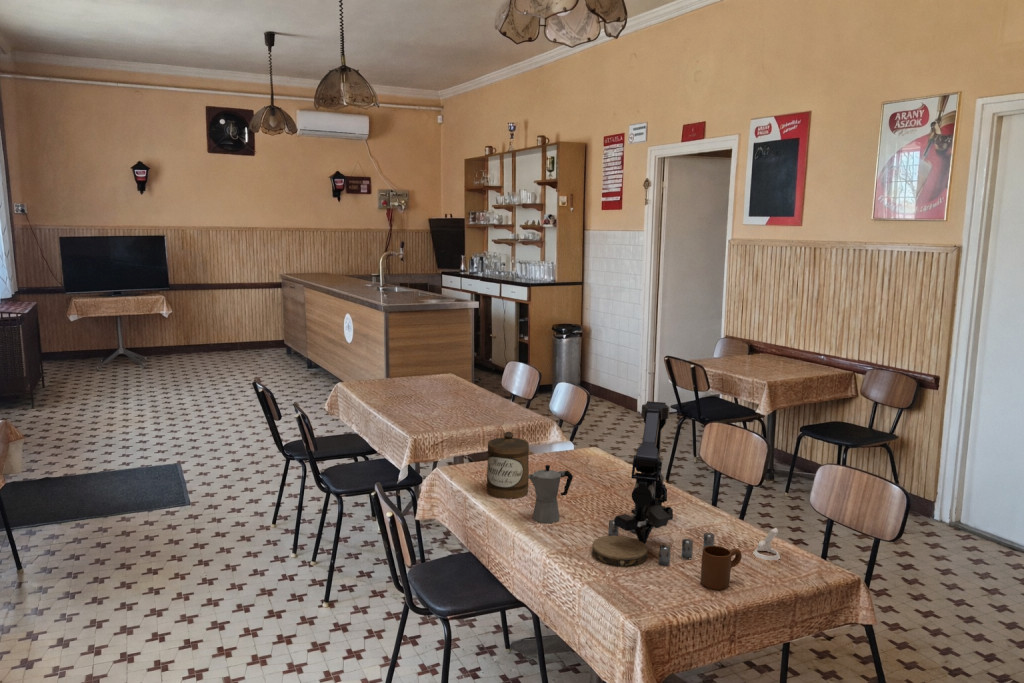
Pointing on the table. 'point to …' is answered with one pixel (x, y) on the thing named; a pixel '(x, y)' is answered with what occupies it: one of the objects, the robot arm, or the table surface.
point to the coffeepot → (548, 493)
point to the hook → (767, 546)
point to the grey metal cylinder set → (665, 550)
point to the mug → (718, 566)
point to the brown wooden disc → (619, 551)
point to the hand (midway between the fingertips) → (642, 545)
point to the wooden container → (508, 467)
